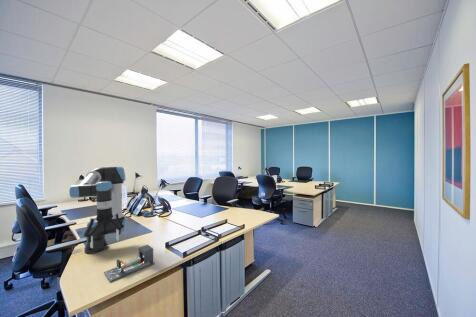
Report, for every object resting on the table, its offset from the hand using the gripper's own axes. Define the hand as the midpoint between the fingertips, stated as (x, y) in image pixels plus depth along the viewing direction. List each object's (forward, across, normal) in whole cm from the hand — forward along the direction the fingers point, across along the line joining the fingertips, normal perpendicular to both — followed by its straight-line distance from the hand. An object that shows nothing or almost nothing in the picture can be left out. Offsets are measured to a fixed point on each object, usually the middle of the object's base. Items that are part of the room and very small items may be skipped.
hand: (105, 243), depth 118 cm
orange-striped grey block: (+19, +13, 0) cm, 23 cm away
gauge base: (+21, +14, 0) cm, 25 cm away
